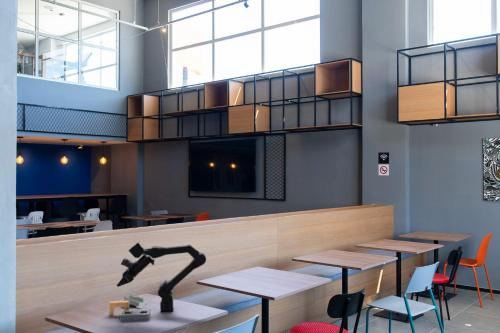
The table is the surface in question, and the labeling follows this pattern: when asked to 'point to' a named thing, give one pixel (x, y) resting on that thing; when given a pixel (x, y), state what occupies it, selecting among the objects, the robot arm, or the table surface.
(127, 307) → the clip
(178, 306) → the table surface
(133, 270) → the robot arm
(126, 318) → the slotted plate
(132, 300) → the metal bracket
